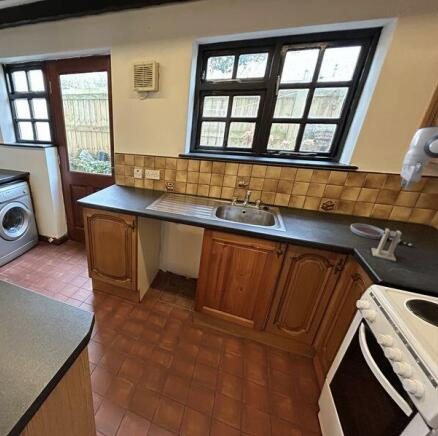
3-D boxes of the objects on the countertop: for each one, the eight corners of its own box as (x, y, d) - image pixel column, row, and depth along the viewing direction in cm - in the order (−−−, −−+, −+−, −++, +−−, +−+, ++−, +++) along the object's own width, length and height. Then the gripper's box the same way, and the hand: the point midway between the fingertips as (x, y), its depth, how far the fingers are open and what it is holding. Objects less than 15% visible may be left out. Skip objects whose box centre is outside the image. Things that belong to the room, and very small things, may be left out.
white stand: (371, 249, 127) (381, 225, 122) (391, 254, 123) (402, 229, 118) (373, 257, 120) (384, 232, 115) (395, 262, 116) (407, 236, 110)
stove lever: (378, 240, 129) (379, 234, 129) (387, 242, 127) (389, 236, 127) (387, 236, 117) (389, 229, 117) (397, 238, 115) (399, 231, 115)
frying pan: (410, 247, 126) (346, 226, 146) (407, 252, 127) (344, 231, 148) (416, 238, 135) (356, 220, 156) (414, 243, 137) (354, 224, 157)
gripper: (431, 164, 110) (418, 193, 115) (419, 159, 126) (408, 185, 131) (412, 162, 114) (400, 191, 119) (403, 158, 129) (393, 184, 134)
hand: (404, 188), depth 125 cm, fingers open, 8 cm apart
